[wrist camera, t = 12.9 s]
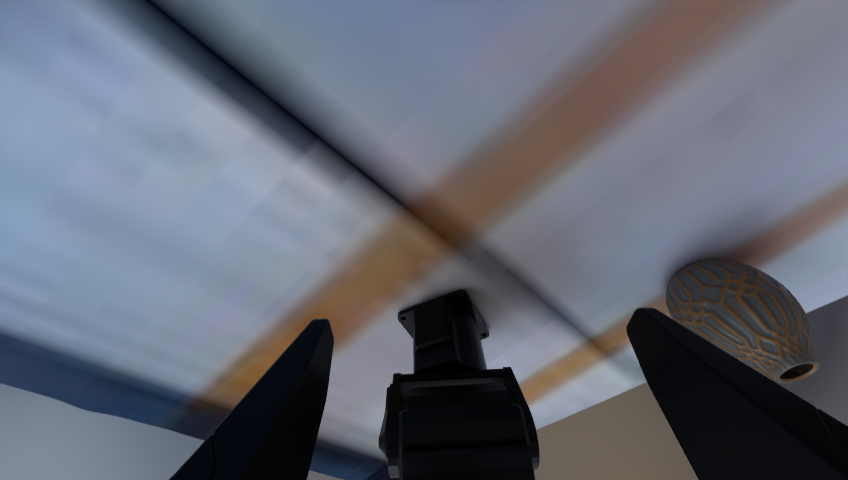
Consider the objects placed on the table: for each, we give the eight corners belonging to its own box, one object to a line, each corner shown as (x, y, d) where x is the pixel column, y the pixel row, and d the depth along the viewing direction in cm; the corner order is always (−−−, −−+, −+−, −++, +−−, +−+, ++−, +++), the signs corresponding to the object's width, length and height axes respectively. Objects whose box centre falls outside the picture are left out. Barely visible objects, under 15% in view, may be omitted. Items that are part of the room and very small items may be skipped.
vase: (648, 265, 26) (741, 360, 18) (743, 232, 24) (885, 322, 17) (652, 315, 29) (731, 411, 22) (735, 290, 28) (849, 384, 21)
